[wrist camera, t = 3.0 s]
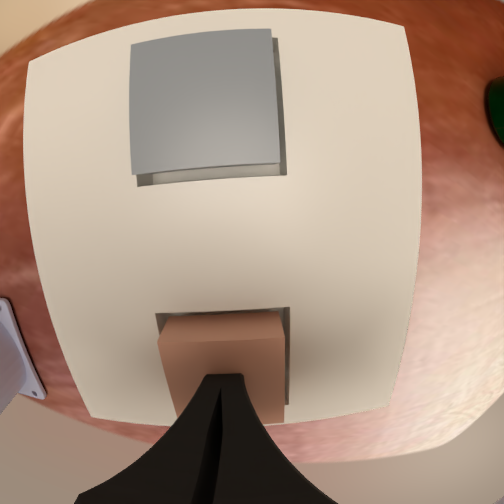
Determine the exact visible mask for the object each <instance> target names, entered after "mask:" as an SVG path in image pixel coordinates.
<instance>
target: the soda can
mask: <svg viewBox="0 0 504 504" xmlns="http://www.w3.org/2000/svg"><path fill="white" fill-rule="evenodd" d="M488 111H489V116H490V120H491V123H492V126H493V128H494V130H495V132H496V134H497V136H498V137H499V139H500V140H501V142H502V143H503V144H504V76H502V77H498V78H496V79H495V80H494V81H493V82H492V84H491V86H490V89H489V93H488Z"/></svg>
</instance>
